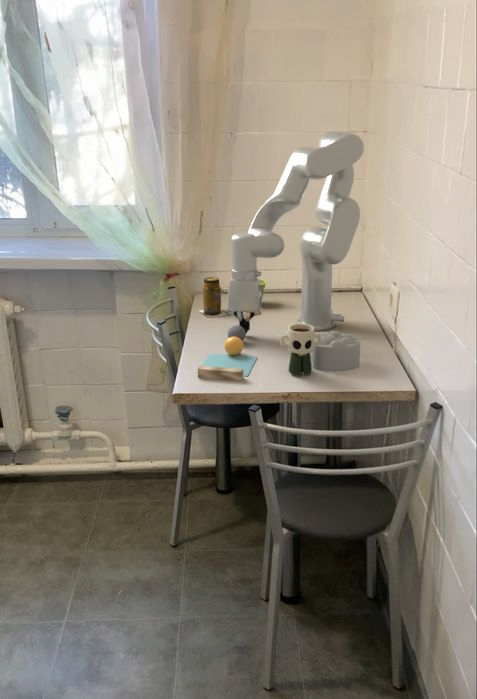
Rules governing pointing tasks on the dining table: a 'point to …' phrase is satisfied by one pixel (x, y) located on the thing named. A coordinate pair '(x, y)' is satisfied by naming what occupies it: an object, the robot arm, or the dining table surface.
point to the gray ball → (237, 332)
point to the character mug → (300, 347)
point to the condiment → (212, 298)
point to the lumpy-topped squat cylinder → (336, 352)
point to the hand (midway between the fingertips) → (244, 332)
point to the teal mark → (231, 362)
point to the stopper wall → (220, 373)
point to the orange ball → (233, 346)
